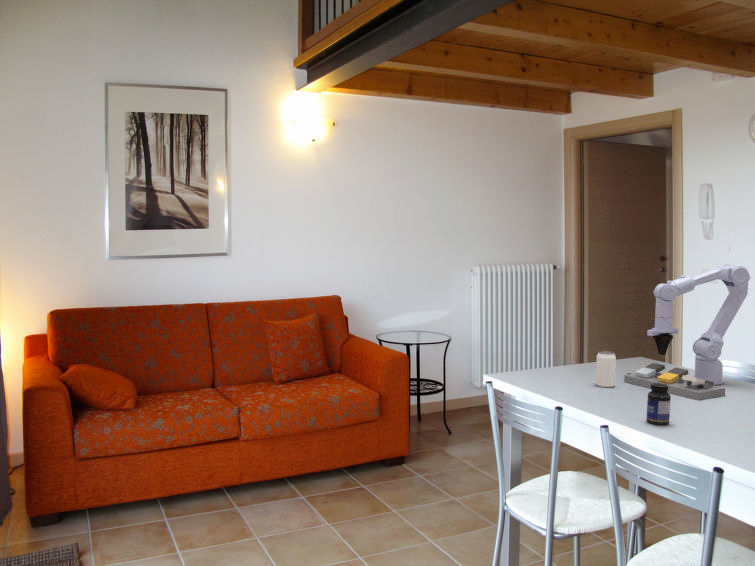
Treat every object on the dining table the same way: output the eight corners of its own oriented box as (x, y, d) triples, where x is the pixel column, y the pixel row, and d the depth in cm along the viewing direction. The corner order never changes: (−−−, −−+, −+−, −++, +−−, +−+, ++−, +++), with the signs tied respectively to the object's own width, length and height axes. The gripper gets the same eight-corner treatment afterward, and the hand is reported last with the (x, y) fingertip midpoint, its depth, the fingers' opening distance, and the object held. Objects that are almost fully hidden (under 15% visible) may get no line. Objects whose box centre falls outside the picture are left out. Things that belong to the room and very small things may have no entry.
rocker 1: (653, 366, 253) (653, 362, 252) (665, 368, 248) (664, 365, 248) (635, 375, 248) (634, 371, 248) (646, 378, 244) (646, 374, 243)
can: (615, 388, 240) (617, 354, 239) (596, 387, 241) (597, 353, 240) (613, 384, 246) (614, 351, 245) (594, 383, 247) (595, 350, 246)
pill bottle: (642, 419, 200) (644, 382, 199) (662, 419, 201) (664, 382, 200) (652, 425, 194) (654, 387, 193) (673, 425, 195) (675, 387, 194)
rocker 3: (699, 383, 236) (700, 379, 236) (713, 386, 232) (714, 382, 232) (682, 379, 231) (682, 375, 231) (695, 382, 227) (696, 377, 227)
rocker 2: (676, 371, 244) (675, 367, 244) (688, 373, 240) (688, 370, 240) (657, 380, 240) (657, 376, 239) (669, 383, 235) (669, 379, 235)
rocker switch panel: (639, 375, 261) (640, 364, 260) (725, 395, 231) (725, 382, 230) (614, 379, 254) (614, 367, 253) (698, 400, 224) (699, 387, 223)
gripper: (667, 314, 254) (665, 351, 255) (640, 316, 247) (639, 354, 248) (684, 316, 248) (682, 354, 249) (657, 319, 241) (655, 357, 242)
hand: (662, 354), depth 248 cm, fingers closed
